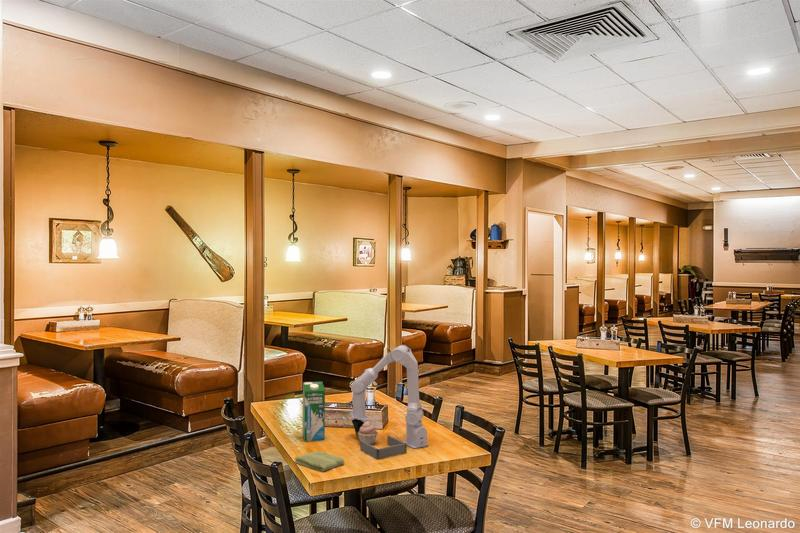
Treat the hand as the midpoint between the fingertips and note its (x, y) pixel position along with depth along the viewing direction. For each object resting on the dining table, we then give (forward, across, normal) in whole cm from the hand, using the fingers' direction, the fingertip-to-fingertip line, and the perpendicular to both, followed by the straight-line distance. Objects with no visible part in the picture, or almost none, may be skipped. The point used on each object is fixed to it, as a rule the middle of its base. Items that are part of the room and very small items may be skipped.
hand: (358, 435), depth 261 cm
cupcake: (+2, +8, 0) cm, 8 cm away
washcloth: (+2, +19, -29) cm, 35 cm away
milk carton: (+2, -12, -17) cm, 21 cm away
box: (+1, +20, 0) cm, 21 cm away
